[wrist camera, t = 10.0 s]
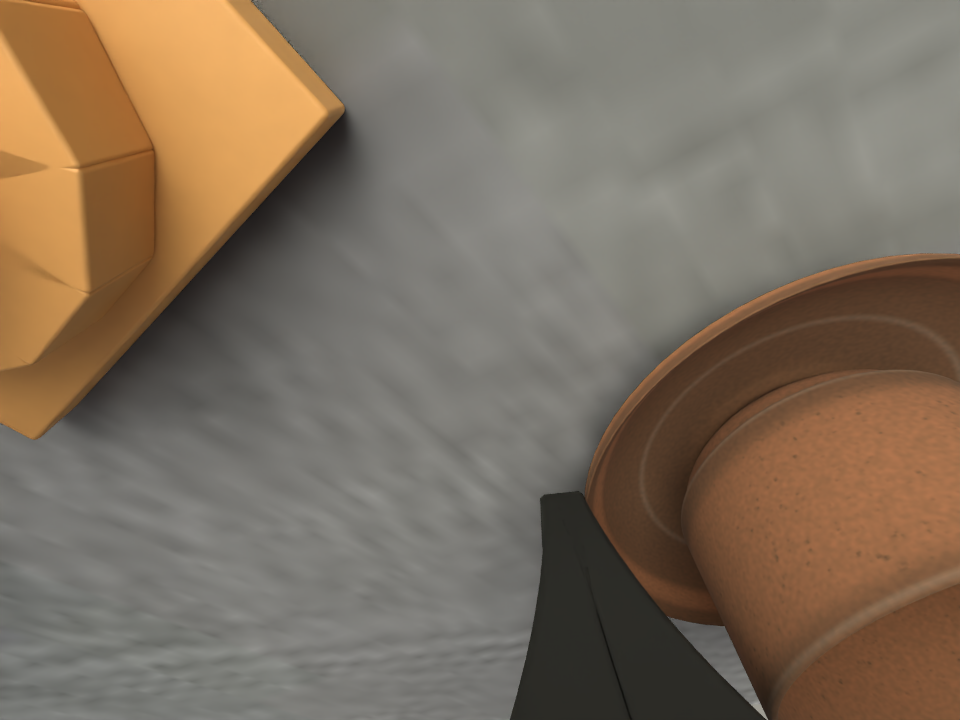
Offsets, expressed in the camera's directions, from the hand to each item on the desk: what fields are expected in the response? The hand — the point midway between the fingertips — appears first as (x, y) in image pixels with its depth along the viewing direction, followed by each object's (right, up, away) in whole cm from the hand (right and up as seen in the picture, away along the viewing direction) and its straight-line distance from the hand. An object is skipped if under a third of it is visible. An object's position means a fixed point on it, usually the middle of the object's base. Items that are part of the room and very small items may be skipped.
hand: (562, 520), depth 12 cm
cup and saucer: (+6, +2, +2) cm, 7 cm away
